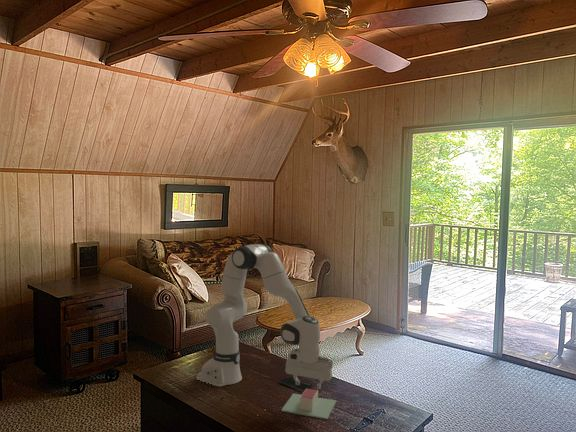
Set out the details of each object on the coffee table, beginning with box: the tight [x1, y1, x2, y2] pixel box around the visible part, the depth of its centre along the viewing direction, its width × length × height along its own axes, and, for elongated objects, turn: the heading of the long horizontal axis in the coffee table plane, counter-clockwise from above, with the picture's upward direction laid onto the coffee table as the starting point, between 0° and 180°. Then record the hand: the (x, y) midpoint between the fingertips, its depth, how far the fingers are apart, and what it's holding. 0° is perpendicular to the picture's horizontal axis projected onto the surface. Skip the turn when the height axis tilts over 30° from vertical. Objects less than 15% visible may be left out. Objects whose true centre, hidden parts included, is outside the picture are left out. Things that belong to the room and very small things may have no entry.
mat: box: [280, 393, 337, 420], centre depth 186 cm, size 20×16×1 cm
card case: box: [300, 388, 319, 411], centre depth 186 cm, size 9×6×5 cm, turn 161°
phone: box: [279, 376, 313, 393], centre depth 207 cm, size 8×1×15 cm
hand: (308, 386), depth 186 cm, fingers open, 8 cm apart
